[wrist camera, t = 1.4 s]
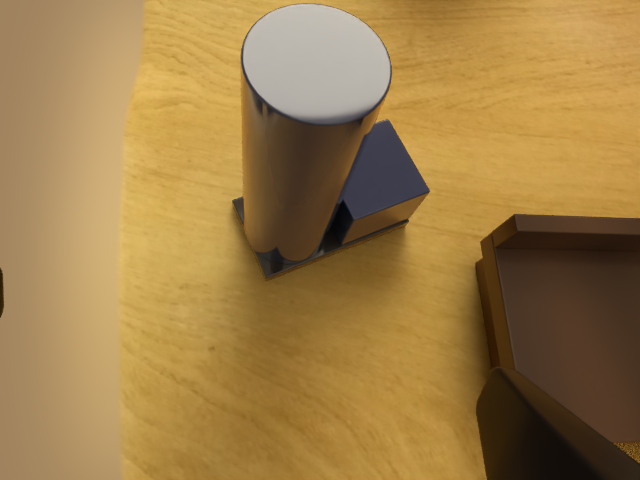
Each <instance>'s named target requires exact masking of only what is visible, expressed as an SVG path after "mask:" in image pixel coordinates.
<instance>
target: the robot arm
mask: <svg viewBox="0 0 640 480" xmlns="http://www.w3.org/2000/svg"><path fill="white" fill-rule="evenodd" d="M3 296H4V295H3V273H2V270H1V268H0V317H1V315H2V313H3V308H4V297H3ZM476 415H477V421H478V427H479V433H480V440H481V446H482V452H483V458H484V464H485V471H486V477H487V480H640V464H639V463H638V462H637V461H635V460H634V459H633V458H631V457H630V456H629V455H627V454H626V453H625V452H623V451H622V450H621V449H619V448H618V447H617V446H616V445H614V444H613V443H612V442H610V441H609V440H608V439H606V438H605V437H604V436H602V435H601V434H600V433H598V432H597V431H596V430H595V429H593V428H592V427H591V426H589V425H588V424H587V423H585V422H584V421H583V420H581V419H580V418H579V417H577V416H576V415H575V414H573V413H572V412H571V411H570V410H568V409H567V408H566V407H564V406H563V405H562V404H560V403H559V402H558V401H556V400H555V399H554V398H552V397H551V396H550V395H549V394H547V393H546V392H545V391H543V390H542V389H541V388H539V387H538V386H537V385H535V384H534V383H533V382H531V381H530V380H529V379H527V378H526V377H525V376H524V375H522V374H521V373H520V372H518V371H516V370H513V369H508V368H503V367H495V368H493V369H492V370H491V372H490V373H489V376H488V378H487V380H486V382H485V385H484V387H483V389H482V391H481V394H480V396H479V398H478V401H477V406H476Z"/></svg>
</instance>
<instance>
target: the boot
mask: <svg viewBox="0 0 640 480" xmlns="http://www.w3.org/2000/svg"><path fill="white" fill-rule="evenodd" d="M391 78H392V66H391V61H390V57H389V54H388V51H387V49H386V47H385V45H384V43H383V42H382V40H381V39H380V38H379V36H378V35H377V34H376V33H375V32H374V31H373V29H371V28H370V27H369V26H368V25H367V24H366V23H364V22H363V21H362V20H360V19H359V18H357V17H355V16H354V15H352V14H350V13H348V12H345V11H343V10H341V9H338V8H335V7H331V6H327V5H321V4H309V3H304V4H294V5H288V6H284V7H281V8H278V9H276V10H273V11H271V12H269V13H268V14H266V15H264V16H263V17H262V18H260V19H259V20H258V21H257V22H256V23H255V24H254V25H253V26H252V27H251V29H250V30H249V32H248V33H247V35H246V37H245V39H244V41H243V45H242V48H241V112H242V169H243V197H240V198H237V199H234V200H233V201H232V204H233V208H234V210H235V212H236V215H237V217H238V219H239V221H240V224H241V226H242V228H243V231H244V233H245V235H246V238H247V240H248V242H249V244H250V247H251V249H252V251H253V253H254V256H255V258H256V260H257V263H258V265H259V267H260V269H261V272H262V274H263V276H264V279H265V281H269V280H271V279H274V278H276V277H279V276H281V275H284V274H286V273H289V272H291V271H294V270H296V269H299V268H301V267H304V266H306V265H309V264H311V263H314V262H316V261H319V260H321V259H324V258H326V257H329V256H331V255H334V254H336V253H339V252H341V251H344V250H346V249H349V248H351V247H354V246H356V245H359V244H361V243H364V242H366V241H369V240H371V239H374V238H376V237H379V236H381V235H384V234H386V233H389V232H391V231H394V230H396V229H399V228H401V227H404V226H406V225H407V223H408V222H409V220H408V219H409V218H410V217H411V215H412V214H413V213H414V211H415V210H416V209H417V208H418V206H419V205H420V204H421V202H422V201H423V200H424V199H425V197H426V196H427V195H428V193H429V192H430V190H429V188H428V187H427V185H426V183H425V181H424V180H423V178H422V176H421V174H420V173H419V171H418V169H417V168H416V166H415V164H414V162H413V161H412V159H411V157H410V155H409V154H408V152H407V150H406V149H405V147H404V145H403V143H402V142H401V140H400V138H399V136H398V135H397V133H396V131H395V130H394V128H393V126H392V124H391V123H390V121H389V120H388V119H386V120H383V121H380V122H377V123H375V122H376V119H377V117H378V115H379V112H380V110H381V107H382V105H383V103H384V100H385V98H386V96H387V93H388V91H389V88H390V84H391Z"/></svg>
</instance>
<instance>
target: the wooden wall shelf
mask: <svg viewBox="0 0 640 480" xmlns="http://www.w3.org/2000/svg"><path fill="white" fill-rule="evenodd" d="M480 243H481V249H482V255H483V258H482V259H480V260H479V261H478V262H476V269H477V276H478V282H479V289H480V295H481V302H482V308H483V314H484V321H485V327H486V334H487V340H488V346H489V353H490V359H491V366H492V369H493V368H495V367H503V368H508V369H513V370H516V371H518V372H520V373H521V374H522V375H524V376H525V377H526V378H527V379H529V380H530V381H531V382H533V383H534V384H535V385H537V386H538V387H539V388H541V389H542V390H543V391H545V392H546V393H547V394H549V395H550V396H551V397H552V398H554V399H555V400H556V401H558V402H559V403H560V404H562V405H563V406H564V407H566V408H567V409H568V410H570V411H571V412H572V413H573V414H575V415H576V416H577V417H579V418H580V419H581V420H583V421H584V422H585V423H587V424H588V425H589V426H591V427H592V428H593V429H595V430H596V431H597V432H598V433H600V434H601V435H602V436H604V437H605V438H606V439H608V440H609V441H610V442H612V443H631V442H640V218H612V217H583V216H555V215H526V214H514V215H513V216H511V217H510V218H509V219H507V220H506V221H505V222H504V223H502V224H501V225H500V226H499V227H497V228H496V229H495V230H494V231H492V233H490V234H489V235H488V236H487V237H485V238H484V239H483V240H482V241H481V242H480Z"/></svg>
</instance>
